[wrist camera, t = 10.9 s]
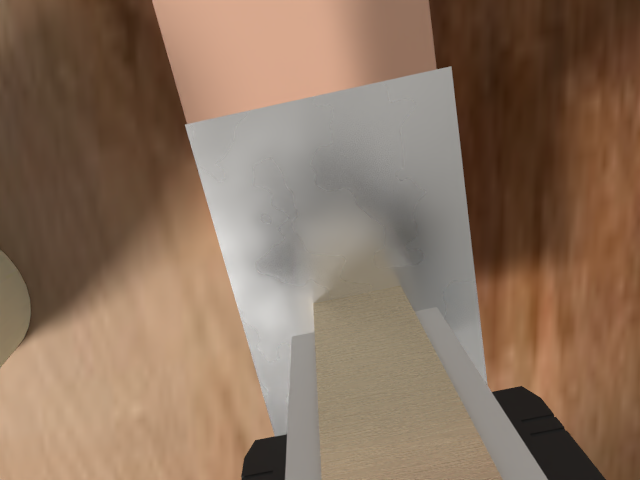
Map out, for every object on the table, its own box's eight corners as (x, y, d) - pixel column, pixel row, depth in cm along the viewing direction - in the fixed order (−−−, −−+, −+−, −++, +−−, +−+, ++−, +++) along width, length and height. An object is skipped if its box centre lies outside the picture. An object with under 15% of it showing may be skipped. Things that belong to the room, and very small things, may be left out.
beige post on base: (489, 470, 19) (679, 847, 9) (301, 506, 19) (300, 911, 10) (441, 68, 14) (727, 3, 5) (192, 122, 14) (-27, 168, 5)
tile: (451, 197, 23) (420, -72, 19) (221, 244, 23) (148, -12, 20) (440, 189, 25) (409, -57, 21) (227, 233, 25) (162, -2, 22)
